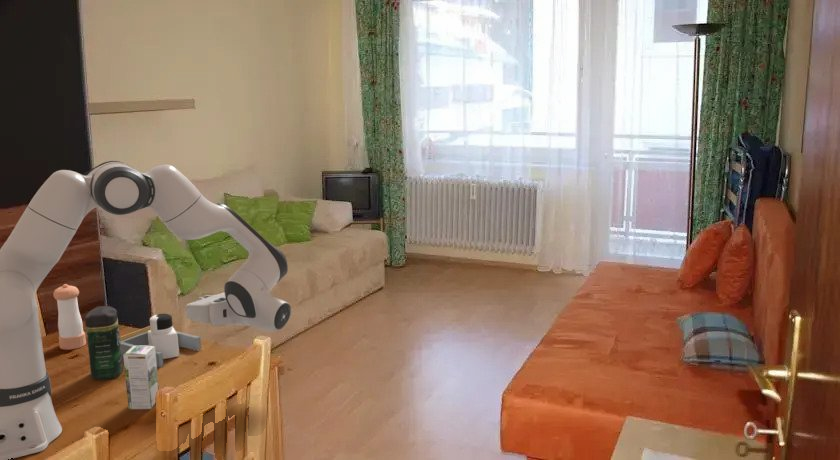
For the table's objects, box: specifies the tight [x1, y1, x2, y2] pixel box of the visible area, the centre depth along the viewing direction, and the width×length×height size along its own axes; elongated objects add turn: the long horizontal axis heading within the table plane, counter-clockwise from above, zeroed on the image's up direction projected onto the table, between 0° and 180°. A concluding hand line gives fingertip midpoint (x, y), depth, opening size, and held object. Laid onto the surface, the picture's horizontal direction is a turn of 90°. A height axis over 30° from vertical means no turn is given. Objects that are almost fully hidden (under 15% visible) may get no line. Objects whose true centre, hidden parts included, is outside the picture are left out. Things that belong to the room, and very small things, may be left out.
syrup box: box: [122, 345, 160, 410], centre depth 182 cm, size 6×6×14 cm
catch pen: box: [120, 325, 202, 368], centre depth 216 cm, size 15×18×5 cm
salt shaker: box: [52, 283, 87, 351], centre depth 222 cm, size 7×7×19 cm
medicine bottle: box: [148, 313, 180, 360], centre depth 214 cm, size 7×7×12 cm
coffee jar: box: [84, 305, 124, 381], centre depth 200 cm, size 10×8×19 cm
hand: (201, 298), depth 202 cm, fingers closed
